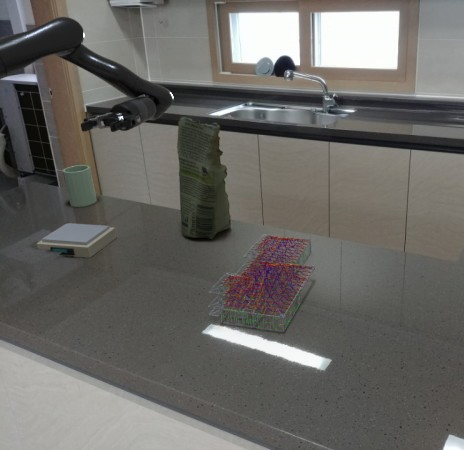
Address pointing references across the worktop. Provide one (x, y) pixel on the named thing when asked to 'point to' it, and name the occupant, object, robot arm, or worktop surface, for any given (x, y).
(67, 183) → the cup
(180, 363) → the worktop surface
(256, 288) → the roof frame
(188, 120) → the pouch
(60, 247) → the scale
